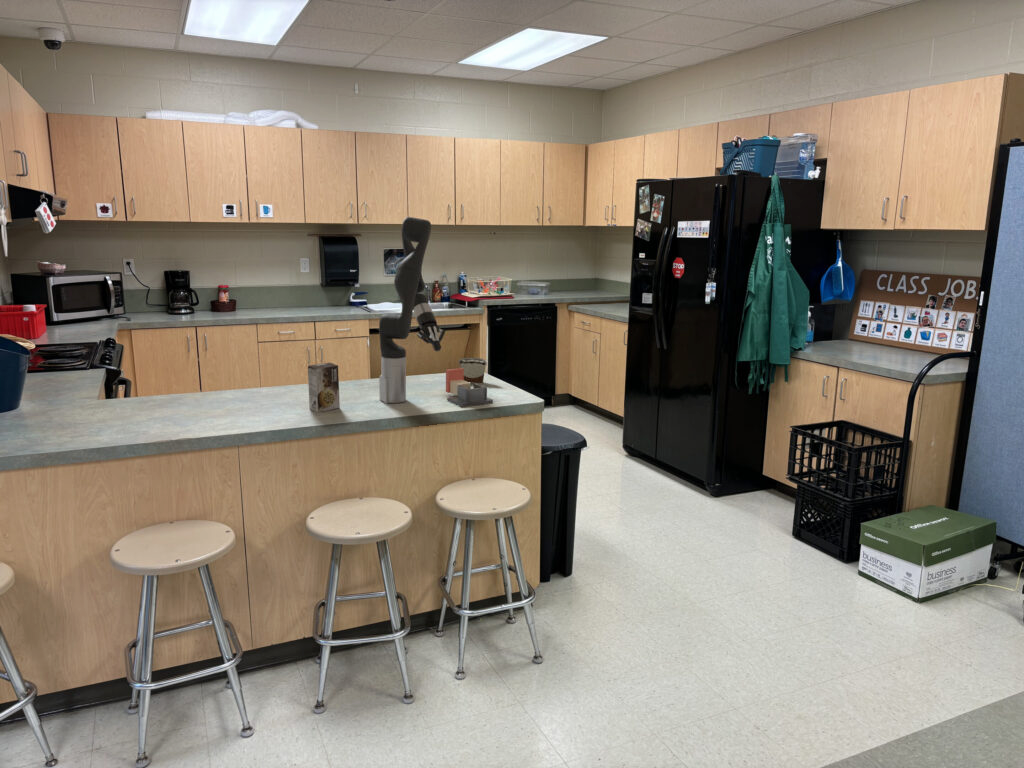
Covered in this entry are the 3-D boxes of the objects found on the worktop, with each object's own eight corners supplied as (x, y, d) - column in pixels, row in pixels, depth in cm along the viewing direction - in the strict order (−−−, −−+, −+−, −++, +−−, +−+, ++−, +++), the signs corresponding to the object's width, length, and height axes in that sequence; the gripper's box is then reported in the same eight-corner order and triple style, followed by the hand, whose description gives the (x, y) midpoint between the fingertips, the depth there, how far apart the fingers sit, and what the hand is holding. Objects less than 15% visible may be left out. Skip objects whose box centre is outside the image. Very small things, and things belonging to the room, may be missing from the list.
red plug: (456, 396, 274) (457, 374, 272) (445, 391, 282) (445, 369, 280) (472, 394, 278) (472, 372, 276) (460, 389, 286) (461, 368, 283)
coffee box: (330, 404, 263) (329, 362, 259) (340, 408, 259) (339, 365, 255) (308, 408, 257) (307, 365, 253) (317, 412, 252) (316, 368, 249)
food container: (488, 380, 310) (488, 358, 307) (486, 383, 304) (486, 361, 301) (460, 379, 311) (460, 356, 308) (458, 382, 305) (458, 359, 303)
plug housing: (461, 407, 265) (461, 390, 264) (447, 400, 274) (447, 384, 273) (492, 403, 273) (493, 386, 272) (477, 396, 282) (478, 380, 280)
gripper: (413, 311, 291) (427, 346, 284) (441, 310, 298) (455, 343, 291) (407, 322, 297) (421, 356, 290) (435, 321, 304) (449, 354, 297)
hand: (438, 350), depth 291 cm, fingers closed
